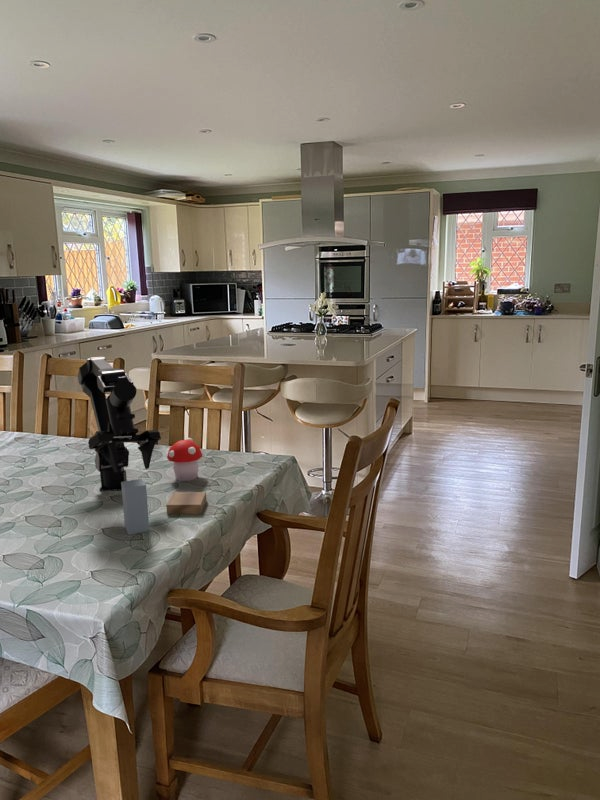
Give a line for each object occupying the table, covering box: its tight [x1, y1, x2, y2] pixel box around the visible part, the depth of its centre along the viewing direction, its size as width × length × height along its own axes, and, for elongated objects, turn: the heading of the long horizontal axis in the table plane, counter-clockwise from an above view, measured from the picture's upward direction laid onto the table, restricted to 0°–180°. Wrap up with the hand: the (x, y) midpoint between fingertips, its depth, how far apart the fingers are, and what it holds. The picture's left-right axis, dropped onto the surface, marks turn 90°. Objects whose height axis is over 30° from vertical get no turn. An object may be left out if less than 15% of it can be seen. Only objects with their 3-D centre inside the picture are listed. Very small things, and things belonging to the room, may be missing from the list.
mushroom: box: [166, 437, 203, 482], centre depth 184 cm, size 11×11×12 cm
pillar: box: [121, 478, 150, 536], centre depth 147 cm, size 5×5×12 cm
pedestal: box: [166, 491, 207, 515], centre depth 162 cm, size 9×9×3 cm
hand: (132, 470), depth 155 cm, fingers open, 9 cm apart
